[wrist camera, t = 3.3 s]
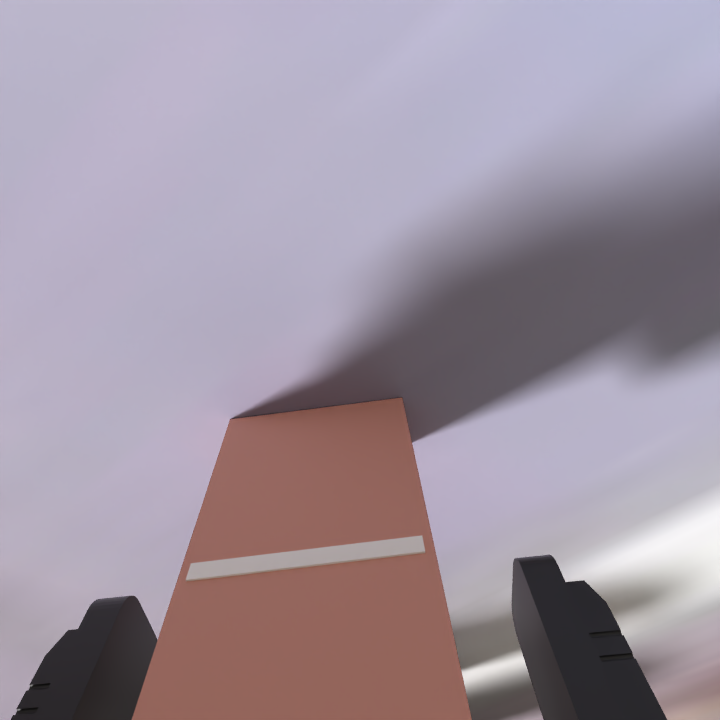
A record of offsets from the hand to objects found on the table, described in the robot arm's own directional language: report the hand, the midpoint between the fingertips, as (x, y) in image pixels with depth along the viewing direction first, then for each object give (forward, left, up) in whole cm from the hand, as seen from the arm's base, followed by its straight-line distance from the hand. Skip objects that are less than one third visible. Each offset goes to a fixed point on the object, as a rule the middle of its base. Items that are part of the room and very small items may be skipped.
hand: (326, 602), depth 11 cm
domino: (0, 0, -6) cm, 6 cm away
